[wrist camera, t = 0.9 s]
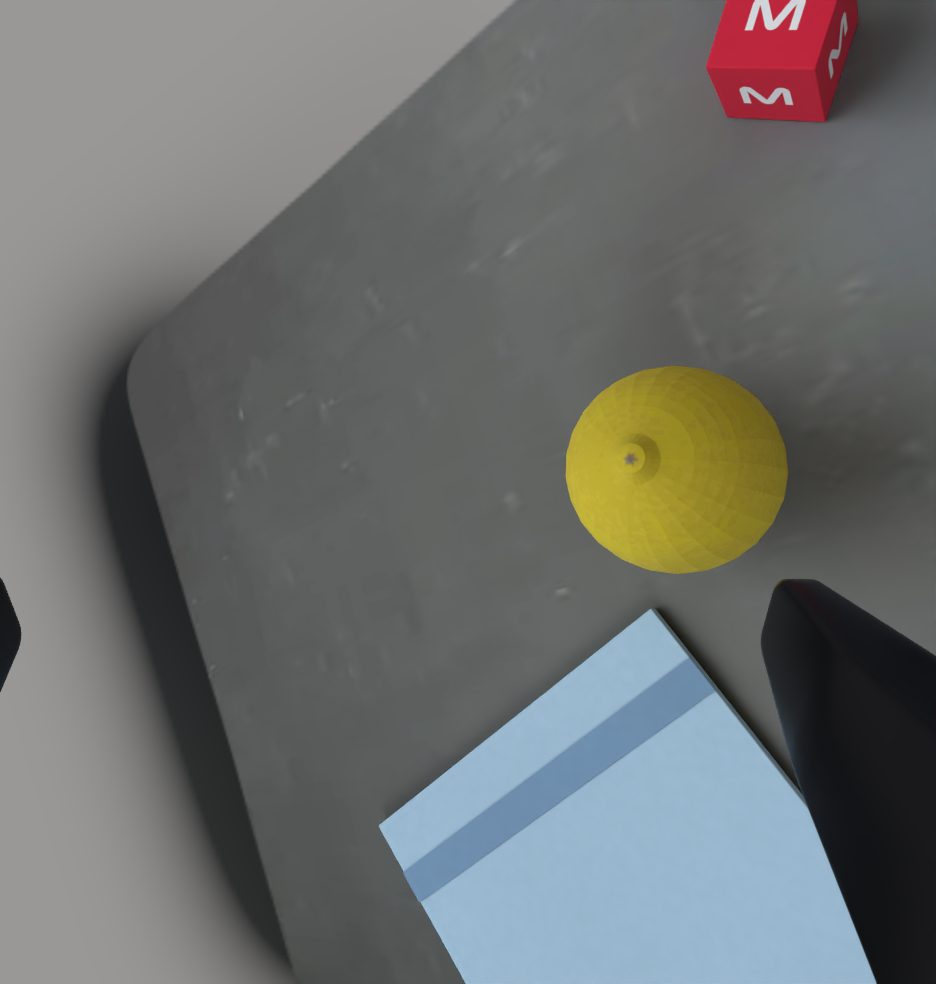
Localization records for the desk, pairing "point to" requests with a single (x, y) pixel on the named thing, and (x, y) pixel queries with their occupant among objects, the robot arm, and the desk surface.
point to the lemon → (676, 469)
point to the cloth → (627, 840)
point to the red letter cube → (781, 57)
